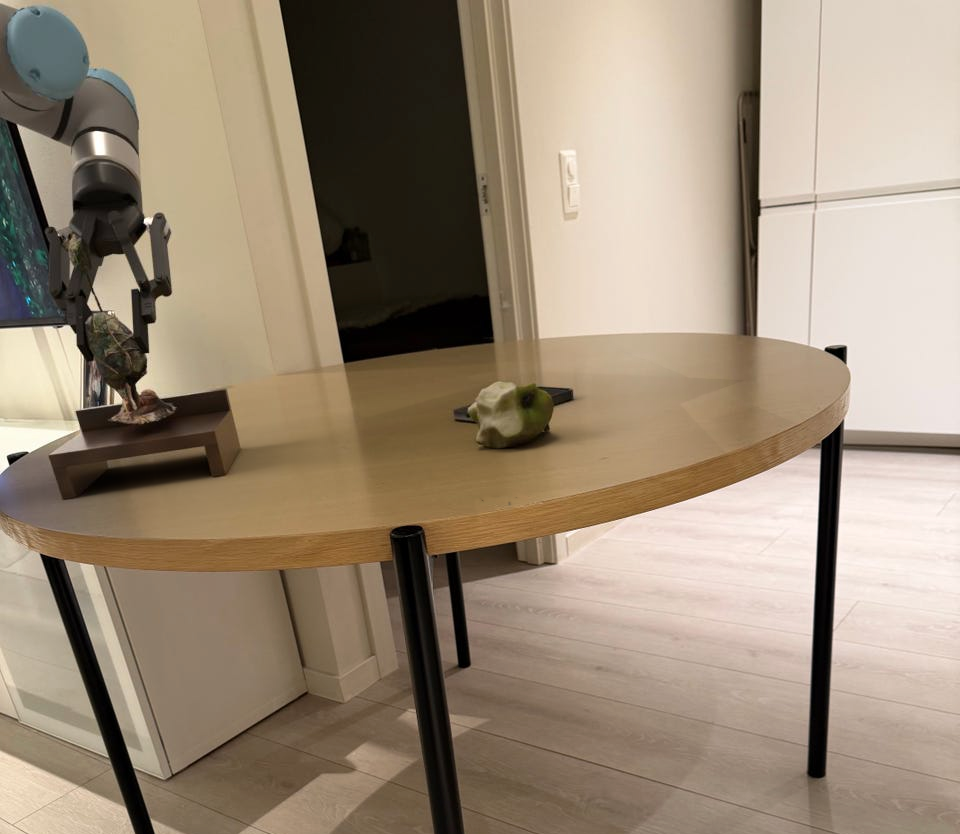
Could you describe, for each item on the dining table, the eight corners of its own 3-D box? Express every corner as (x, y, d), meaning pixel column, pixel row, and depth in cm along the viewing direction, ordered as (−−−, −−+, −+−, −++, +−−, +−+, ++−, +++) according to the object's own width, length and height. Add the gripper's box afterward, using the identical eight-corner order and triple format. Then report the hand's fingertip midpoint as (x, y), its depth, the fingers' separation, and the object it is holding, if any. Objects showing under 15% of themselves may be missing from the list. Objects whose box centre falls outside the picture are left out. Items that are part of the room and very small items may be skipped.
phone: (576, 388, 114) (490, 414, 106) (577, 397, 115) (491, 423, 106) (533, 386, 120) (448, 410, 111) (534, 394, 120) (450, 419, 112)
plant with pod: (91, 435, 98) (27, 237, 89) (123, 415, 108) (69, 235, 99) (164, 425, 97) (107, 226, 89) (189, 405, 108) (141, 225, 99)
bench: (62, 499, 98) (40, 432, 95) (96, 469, 111) (77, 409, 108) (225, 475, 99) (208, 407, 96) (240, 448, 112) (226, 388, 109)
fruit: (563, 456, 94) (550, 384, 89) (476, 474, 95) (460, 403, 90) (555, 422, 101) (543, 353, 96) (475, 438, 102) (460, 371, 97)
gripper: (195, 202, 108) (208, 359, 100) (42, 222, 107) (43, 383, 99) (175, 149, 101) (188, 313, 93) (11, 170, 100) (9, 338, 92)
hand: (113, 349), depth 96 cm, fingers closed on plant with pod, 5 cm apart
